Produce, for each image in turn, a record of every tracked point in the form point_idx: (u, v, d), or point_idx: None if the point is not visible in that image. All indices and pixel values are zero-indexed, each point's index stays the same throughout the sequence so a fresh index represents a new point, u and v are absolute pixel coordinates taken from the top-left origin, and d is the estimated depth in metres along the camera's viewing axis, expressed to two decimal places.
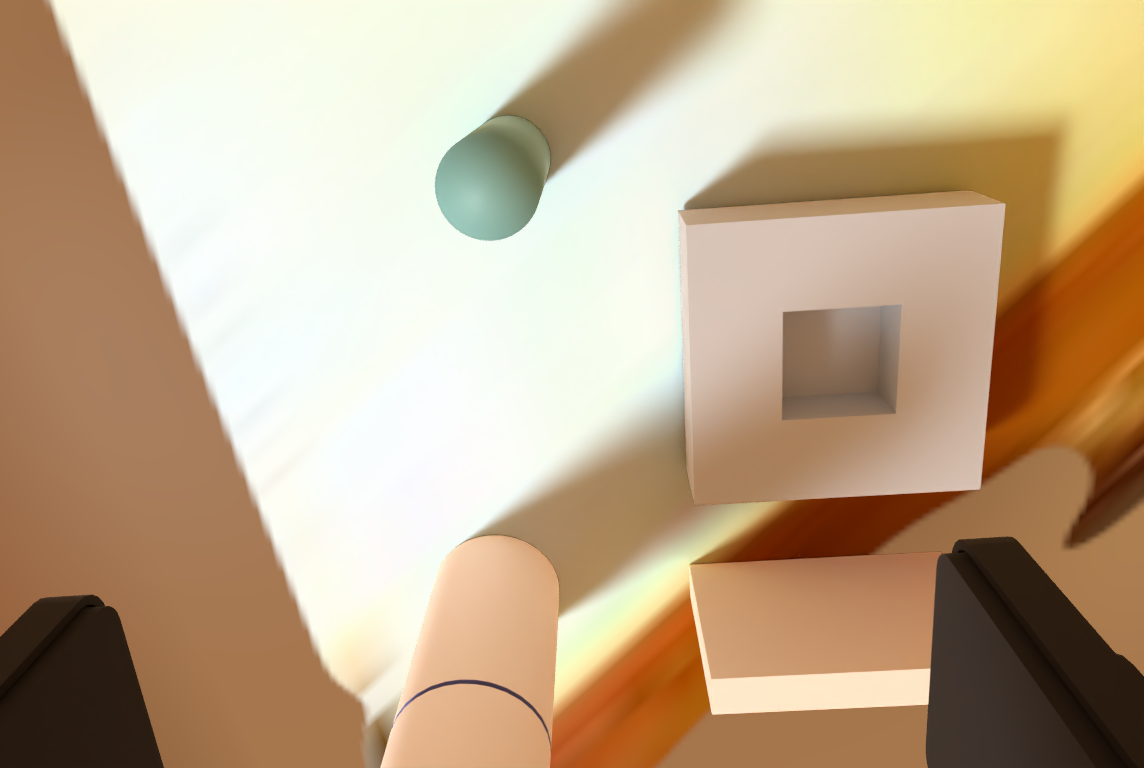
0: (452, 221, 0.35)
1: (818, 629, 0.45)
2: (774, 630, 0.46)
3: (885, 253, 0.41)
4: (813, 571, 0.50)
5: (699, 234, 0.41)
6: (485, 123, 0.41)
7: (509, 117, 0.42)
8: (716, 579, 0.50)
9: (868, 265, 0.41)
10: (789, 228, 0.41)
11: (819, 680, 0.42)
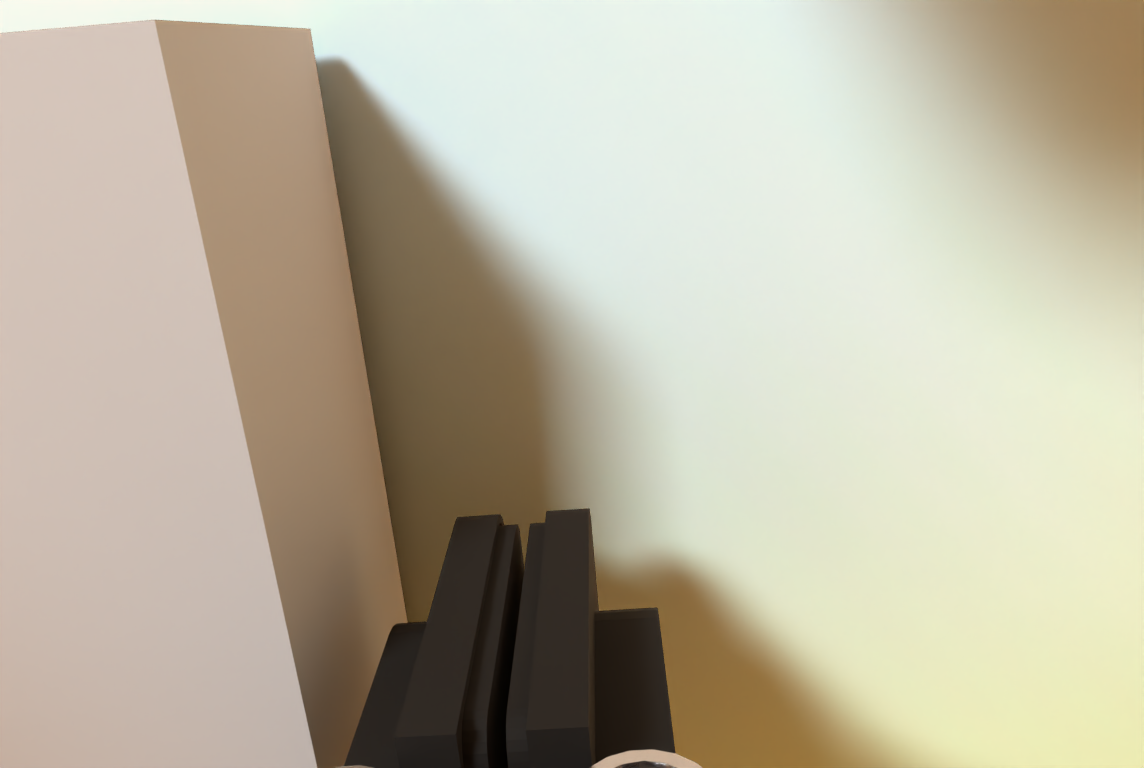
0: None
1: None
2: None
3: None
4: None
5: (115, 105, 0.07)
6: None
7: None
8: None
9: None
10: (222, 557, 0.08)
11: None
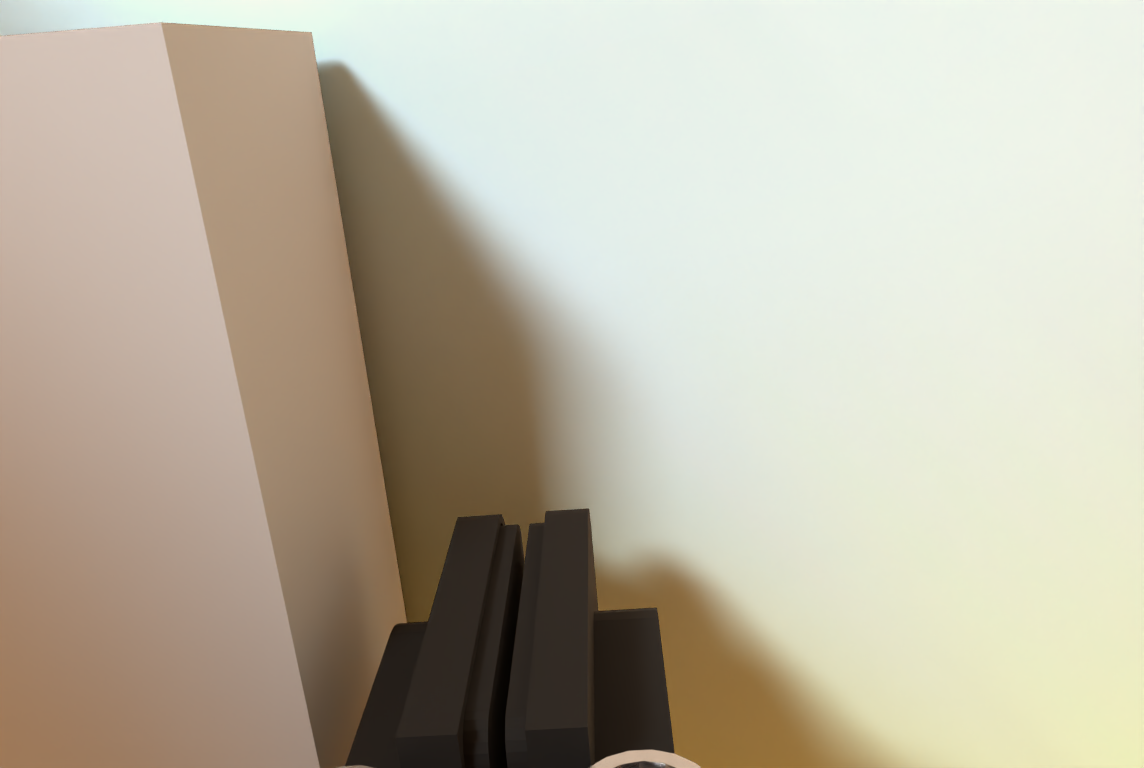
0: None
1: None
2: None
3: None
4: None
5: (121, 108, 0.07)
6: None
7: None
8: None
9: None
10: (226, 560, 0.08)
11: None
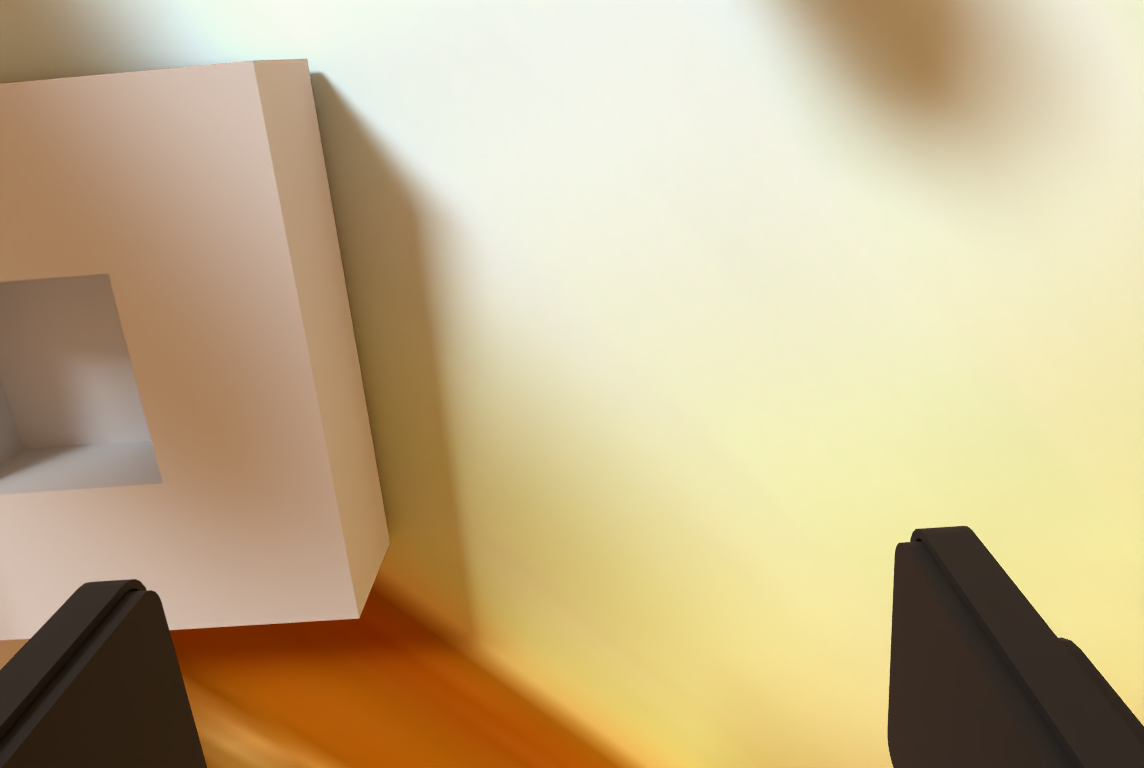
0: None
1: None
2: None
3: (251, 446, 0.23)
4: None
5: (237, 91, 0.20)
6: None
7: None
8: None
9: (223, 419, 0.23)
10: (273, 272, 0.21)
11: None
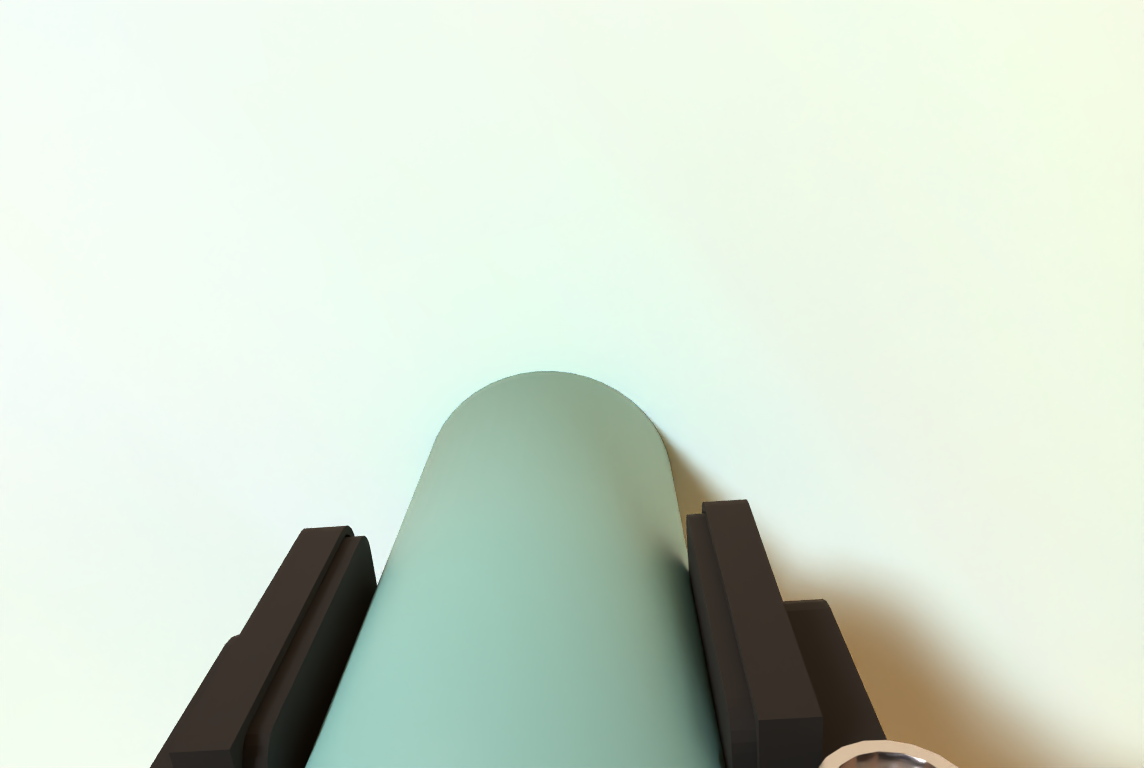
0: None
1: None
2: None
3: None
4: None
5: None
6: (678, 527, 0.12)
7: None
8: None
9: None
10: None
11: None
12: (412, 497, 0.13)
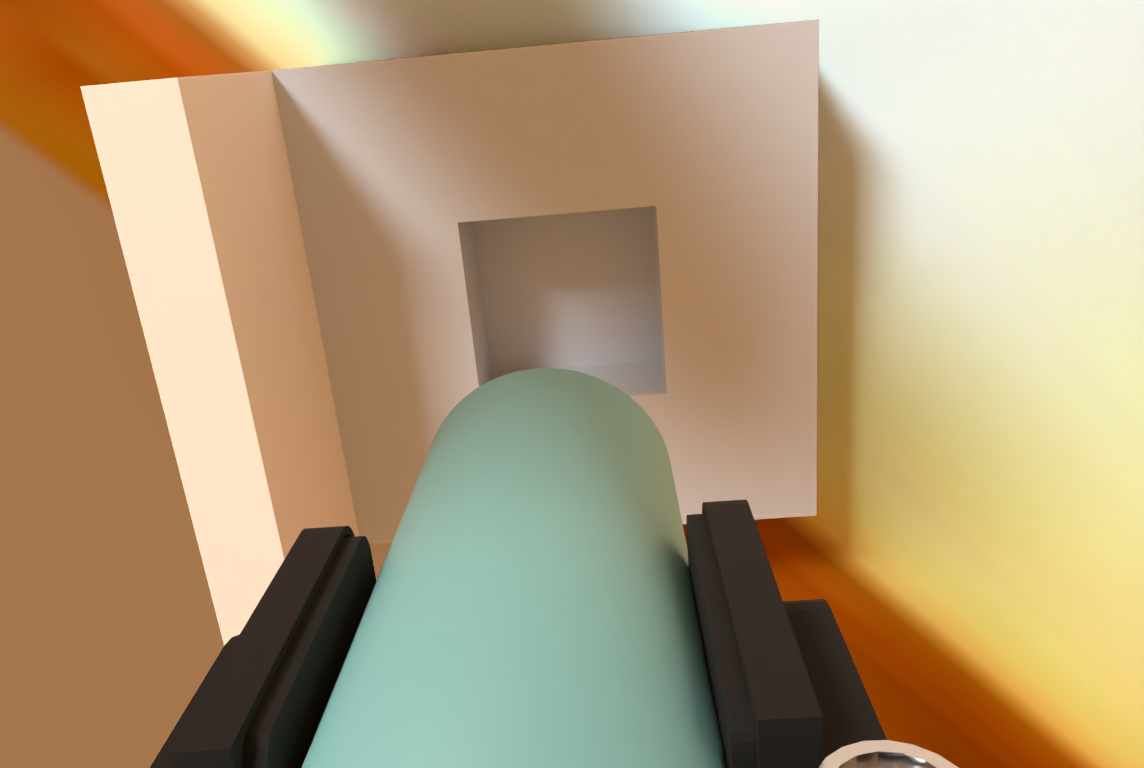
0: None
1: (285, 306, 0.24)
2: (269, 222, 0.23)
3: (751, 359, 0.26)
4: None
5: (800, 45, 0.23)
6: (678, 524, 0.12)
7: None
8: None
9: (731, 336, 0.26)
10: (800, 204, 0.25)
11: (212, 316, 0.20)
12: (411, 494, 0.13)
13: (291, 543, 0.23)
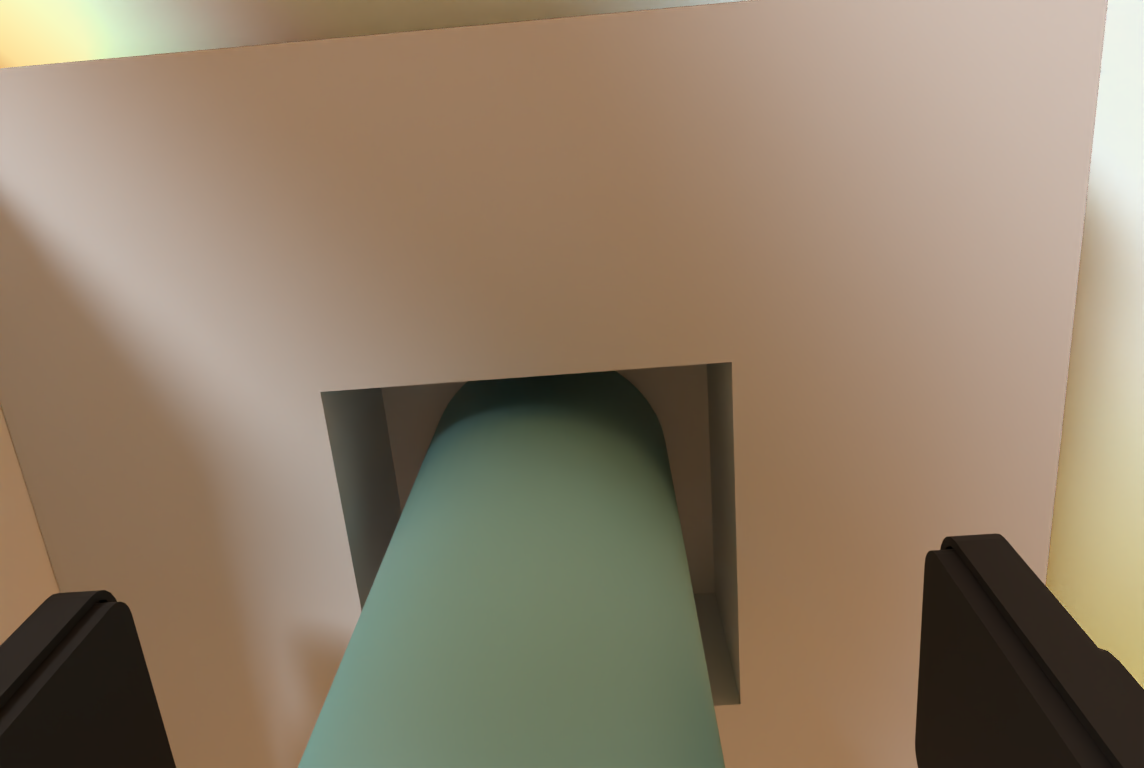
0: None
1: None
2: None
3: (909, 647, 0.13)
4: None
5: (1064, 27, 0.10)
6: (671, 496, 0.13)
7: None
8: None
9: (873, 606, 0.13)
10: (1033, 360, 0.12)
11: None
12: None
13: None
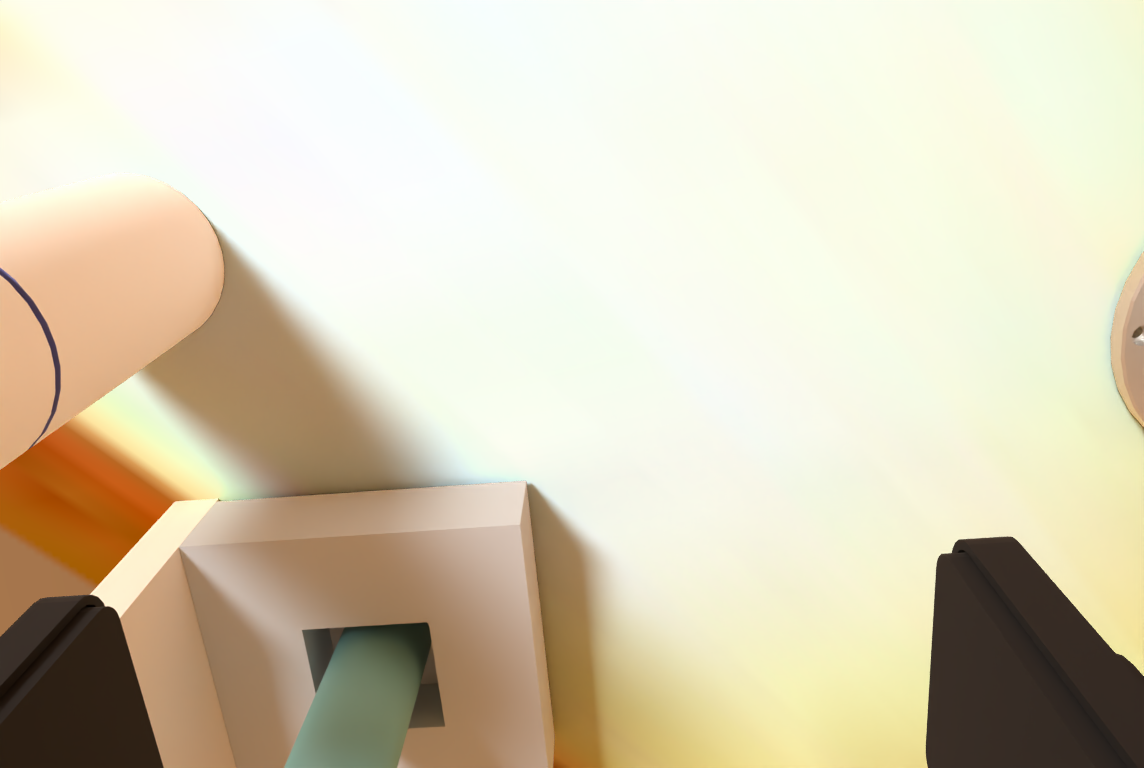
0: None
1: (186, 699, 0.37)
2: (175, 653, 0.37)
3: (498, 707, 0.40)
4: None
5: (510, 537, 0.37)
6: (415, 661, 0.39)
7: (426, 658, 0.41)
8: None
9: (484, 694, 0.40)
10: (520, 622, 0.38)
11: None
12: None
13: None
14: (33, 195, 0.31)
